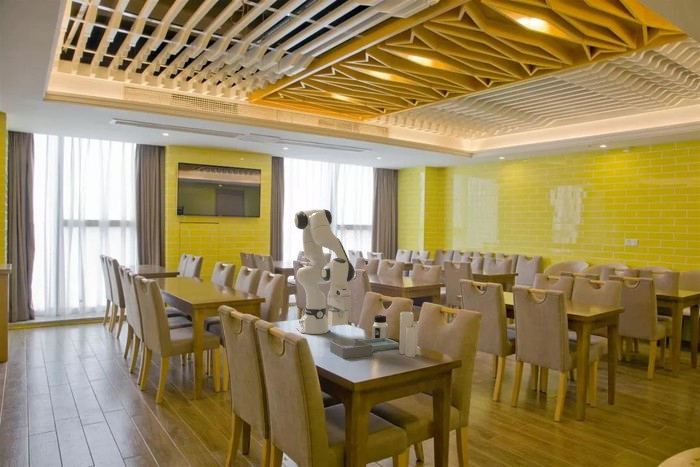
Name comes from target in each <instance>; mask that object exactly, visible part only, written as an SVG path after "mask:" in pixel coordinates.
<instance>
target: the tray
mask: <svg viewBox="0 0 700 467" xmlns="http://www.w3.org/2000/svg"><path fill="white" fill-rule="evenodd" d="M360 340H361V341H364V342H366V343H368V344H370V345H372V352H377V351H384V350H393V349H400V342H397V341H395V340H393V339H390V338H388V337H387V338H385V337H384V338H375V339H372V338H367V339H360Z"/></svg>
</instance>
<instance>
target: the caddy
mask: <svg viewBox="0 0 700 467" xmlns="http://www.w3.org/2000/svg"><path fill="white" fill-rule="evenodd" d="M339 314H340V309H337V308H332V307H331V308H328V309H327V317H328V326H329V325H330V326H331V327H333V326H334V327H335V326H344V325H347V326H348V325H349V323H348V322H349V311H344V314H343V318H339Z"/></svg>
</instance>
